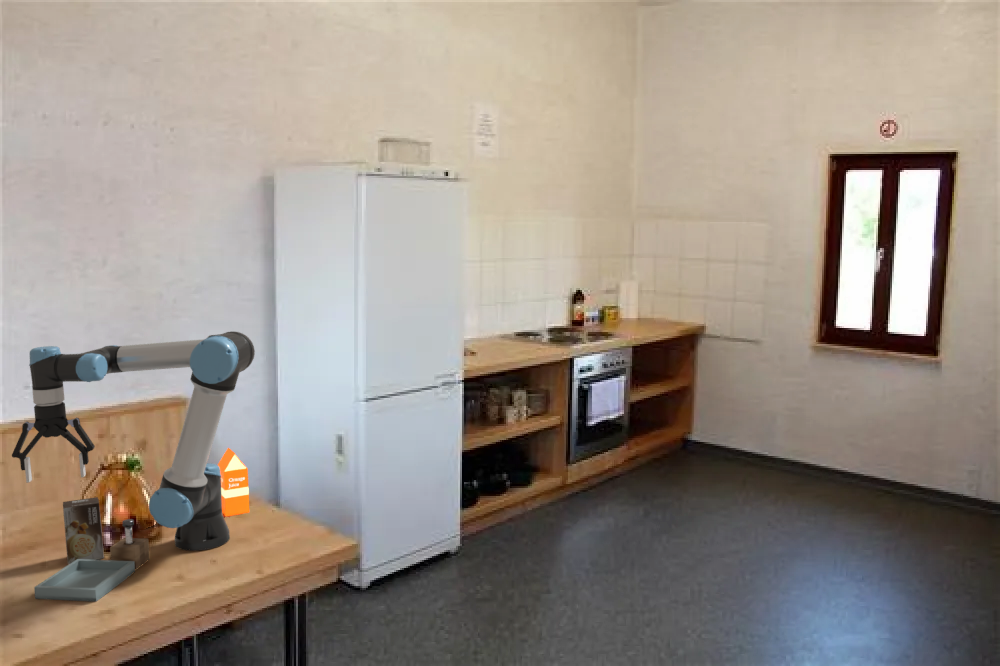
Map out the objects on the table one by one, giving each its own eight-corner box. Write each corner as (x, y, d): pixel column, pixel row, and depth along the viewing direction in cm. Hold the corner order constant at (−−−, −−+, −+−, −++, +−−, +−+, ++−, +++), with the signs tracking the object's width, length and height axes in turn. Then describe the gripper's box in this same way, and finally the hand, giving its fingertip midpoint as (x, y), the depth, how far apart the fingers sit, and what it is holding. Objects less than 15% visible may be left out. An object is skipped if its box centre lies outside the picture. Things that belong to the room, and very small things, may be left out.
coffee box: (102, 551, 241) (99, 496, 239) (104, 558, 236) (100, 502, 234) (66, 556, 237) (62, 501, 235) (66, 564, 232) (62, 507, 230)
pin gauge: (138, 562, 233) (135, 519, 232) (132, 566, 230) (130, 522, 229) (128, 561, 233) (126, 518, 232) (123, 565, 231) (120, 522, 229)
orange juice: (242, 504, 281) (240, 445, 279) (250, 512, 274) (247, 451, 271) (218, 508, 277) (215, 449, 274) (225, 516, 270) (222, 455, 267)
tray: (134, 572, 227) (134, 561, 226) (96, 601, 209) (95, 589, 208) (78, 569, 228) (77, 558, 228) (35, 598, 210) (34, 587, 210)
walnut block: (149, 559, 235) (148, 538, 234) (136, 569, 228) (134, 548, 227) (125, 558, 236) (124, 537, 235) (111, 568, 229) (110, 547, 228)
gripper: (101, 397, 239) (107, 470, 242) (2, 404, 233) (10, 479, 235) (96, 402, 232) (103, 477, 235) (-6, 409, 226) (2, 487, 228)
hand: (56, 478), depth 235 cm, fingers open, 13 cm apart
